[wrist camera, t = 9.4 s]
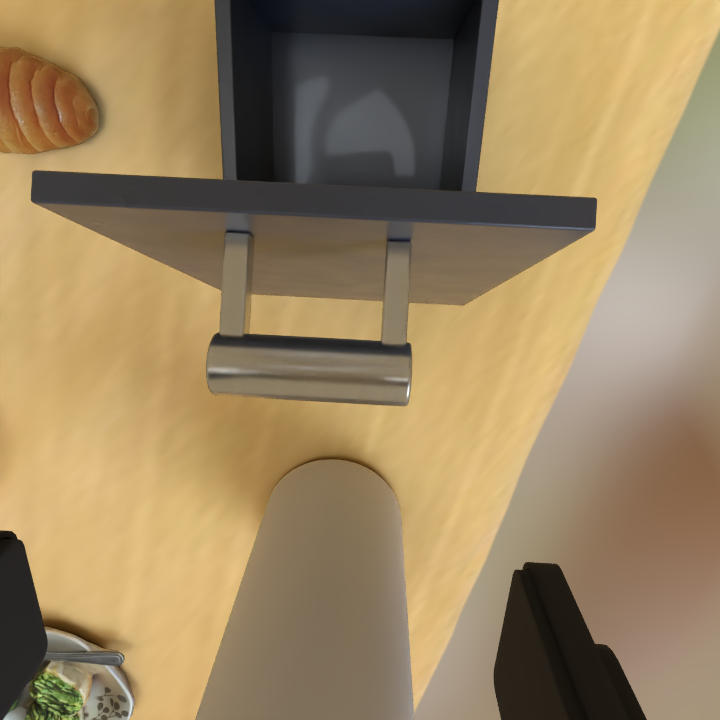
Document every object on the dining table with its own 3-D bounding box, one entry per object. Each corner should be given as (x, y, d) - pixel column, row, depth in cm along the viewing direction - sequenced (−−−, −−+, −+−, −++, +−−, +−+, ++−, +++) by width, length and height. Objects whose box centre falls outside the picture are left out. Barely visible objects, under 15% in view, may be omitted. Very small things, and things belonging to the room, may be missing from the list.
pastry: (100, 60, 35) (69, 48, 31) (107, 164, 37) (79, 164, 34) (-35, 43, 35) (-82, 30, 31) (-19, 149, 37) (-61, 147, 34)
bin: (262, 20, 34) (211, -45, 24) (465, 29, 33) (502, -33, 23) (266, 255, 39) (227, 284, 29) (441, 264, 39) (463, 296, 29)
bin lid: (31, 169, 12) (18, 392, 12) (598, 196, 12) (585, 424, 12) (225, 278, 29) (220, 373, 29) (464, 291, 28) (459, 386, 28)
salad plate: (86, 588, 52) (60, 626, 48) (178, 700, 57) (162, 743, 53) (-56, 641, 55) (-93, 680, 51) (43, 742, 61) (17, 785, 56)
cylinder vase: (424, 533, 48) (468, 878, 24) (314, 582, 51) (260, 937, 27) (356, 432, 44) (331, 724, 21) (242, 491, 47) (107, 810, 24)
